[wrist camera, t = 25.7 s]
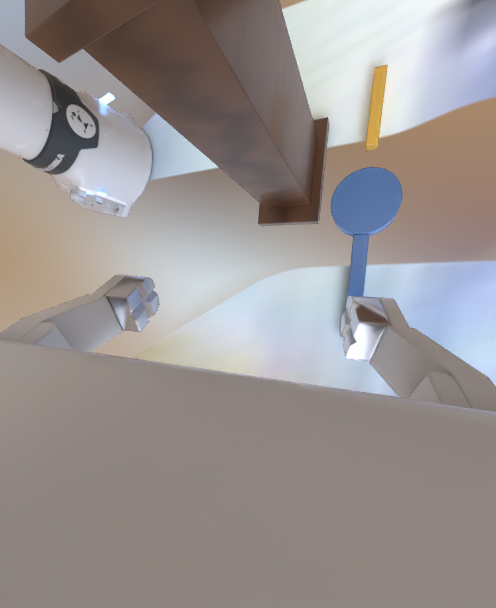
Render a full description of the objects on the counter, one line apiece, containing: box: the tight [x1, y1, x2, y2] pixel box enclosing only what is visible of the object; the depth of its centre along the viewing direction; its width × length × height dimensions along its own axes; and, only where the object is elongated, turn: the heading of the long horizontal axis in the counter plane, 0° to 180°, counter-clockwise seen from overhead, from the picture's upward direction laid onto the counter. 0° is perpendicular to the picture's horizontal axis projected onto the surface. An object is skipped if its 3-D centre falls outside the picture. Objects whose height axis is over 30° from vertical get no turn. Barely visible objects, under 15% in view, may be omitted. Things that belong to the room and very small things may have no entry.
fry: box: [366, 65, 387, 151], centre depth 26 cm, size 1×8×1 cm, turn 174°
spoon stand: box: [25, 0, 329, 226], centre depth 19 cm, size 8×12×26 cm, turn 175°
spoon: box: [331, 167, 402, 341], centre depth 27 cm, size 7×20×2 cm, turn 176°
